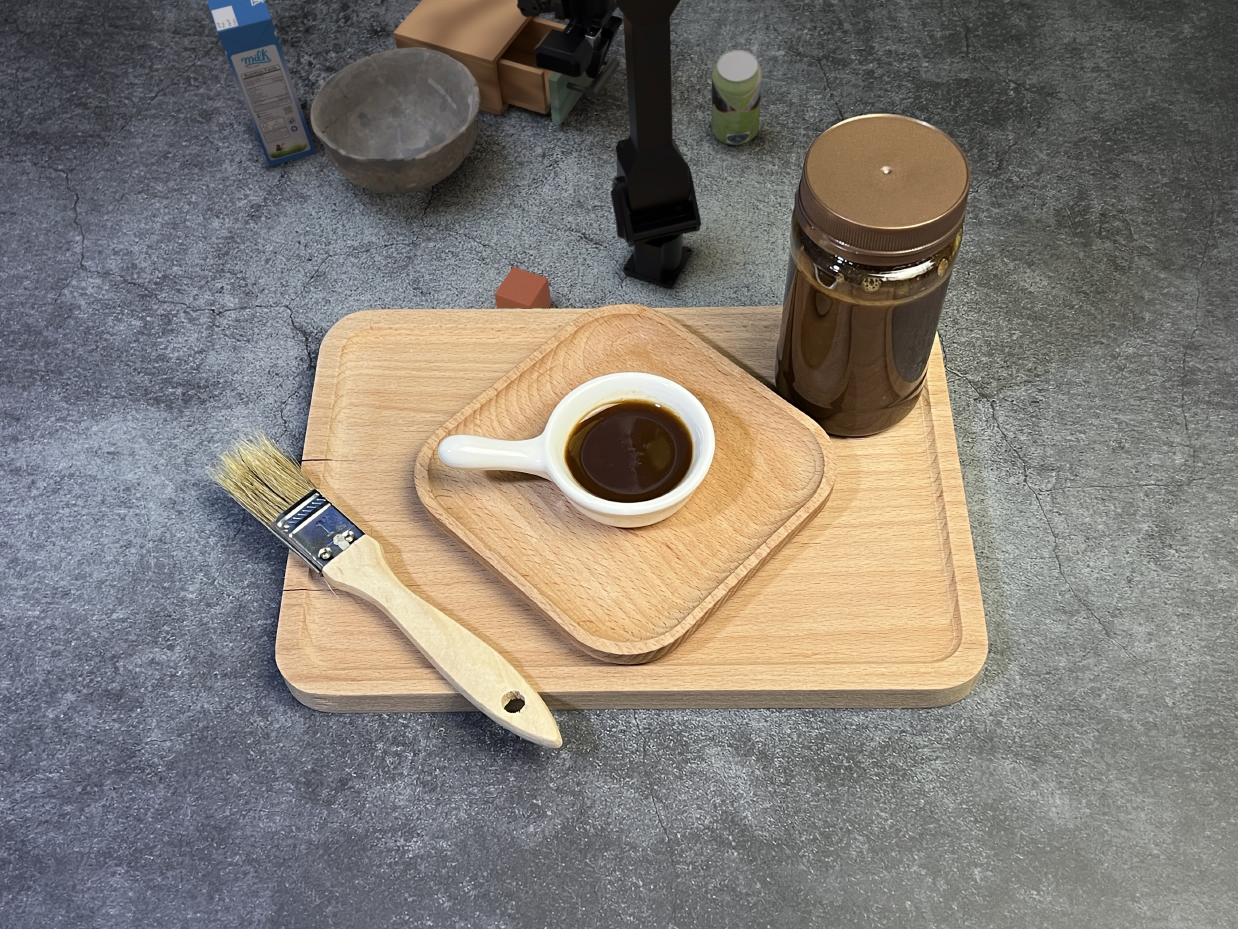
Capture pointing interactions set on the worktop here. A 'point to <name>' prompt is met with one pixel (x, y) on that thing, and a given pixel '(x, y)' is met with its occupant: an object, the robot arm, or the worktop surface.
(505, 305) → the block
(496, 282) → the worktop surface
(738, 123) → the beverage can
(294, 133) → the milk carton
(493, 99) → the cabinet
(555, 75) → the drawer
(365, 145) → the bowl
